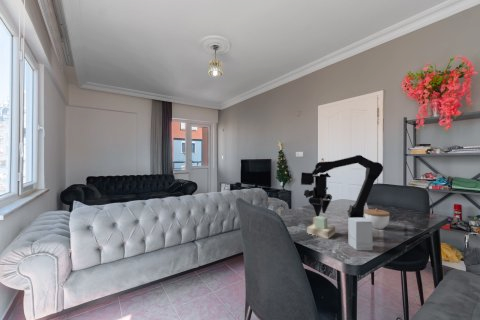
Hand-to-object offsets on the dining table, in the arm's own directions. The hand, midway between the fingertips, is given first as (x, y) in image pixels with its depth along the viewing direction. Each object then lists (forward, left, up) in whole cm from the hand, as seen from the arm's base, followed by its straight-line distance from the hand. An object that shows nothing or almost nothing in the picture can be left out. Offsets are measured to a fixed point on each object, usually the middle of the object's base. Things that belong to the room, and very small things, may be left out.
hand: (320, 214), depth 117 cm
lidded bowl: (-21, -32, -10) cm, 40 cm away
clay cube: (+6, -13, -10) cm, 18 cm away
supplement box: (-20, +7, -10) cm, 24 cm away
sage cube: (0, 0, -7) cm, 7 cm away
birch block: (0, 0, -11) cm, 11 cm away
